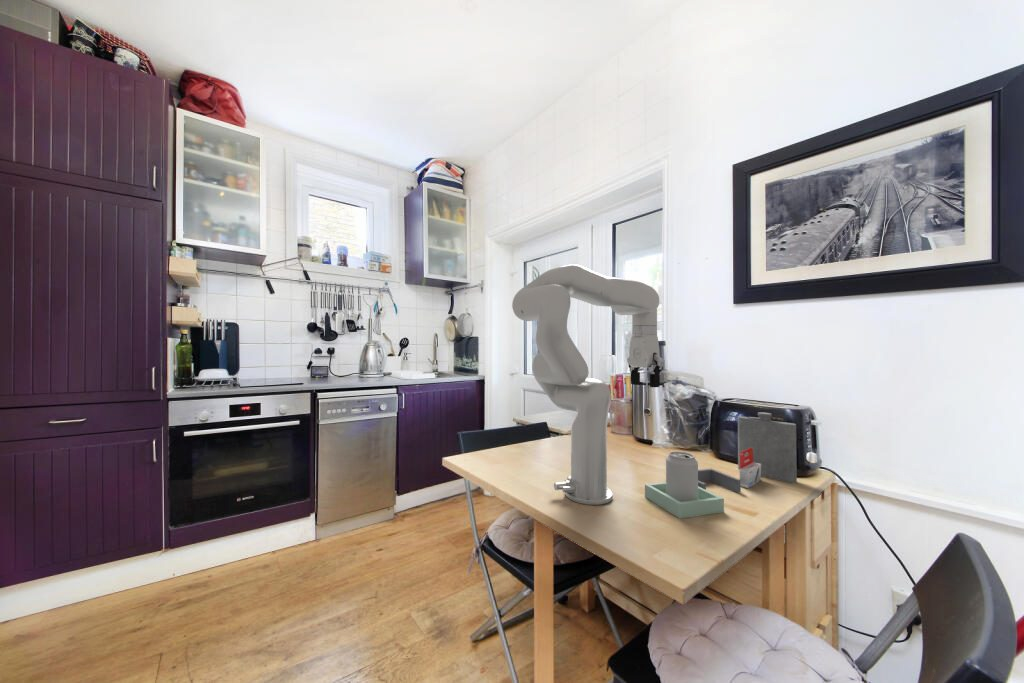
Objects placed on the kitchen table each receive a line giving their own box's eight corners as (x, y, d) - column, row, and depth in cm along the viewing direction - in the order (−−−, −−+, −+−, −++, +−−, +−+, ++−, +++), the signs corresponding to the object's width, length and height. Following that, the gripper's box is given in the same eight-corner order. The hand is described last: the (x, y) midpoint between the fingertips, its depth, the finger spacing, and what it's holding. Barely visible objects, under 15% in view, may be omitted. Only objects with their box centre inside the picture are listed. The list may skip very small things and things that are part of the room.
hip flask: (798, 481, 109) (797, 415, 110) (793, 484, 107) (793, 417, 107) (740, 467, 122) (740, 408, 123) (735, 469, 120) (735, 409, 120)
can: (703, 507, 88) (703, 458, 89) (673, 506, 88) (673, 458, 89) (689, 495, 96) (689, 450, 96) (661, 494, 96) (661, 449, 96)
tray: (680, 518, 84) (680, 504, 84) (644, 496, 97) (644, 484, 97) (723, 511, 88) (723, 498, 88) (684, 491, 100) (684, 479, 100)
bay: (703, 497, 96) (702, 484, 96) (676, 483, 106) (676, 472, 106) (740, 492, 100) (740, 479, 100) (711, 479, 110) (711, 468, 110)
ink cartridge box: (761, 480, 110) (761, 448, 110) (748, 488, 103) (748, 454, 103) (752, 478, 112) (751, 446, 112) (738, 486, 105) (738, 452, 105)
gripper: (619, 332, 122) (619, 383, 121) (652, 330, 105) (652, 388, 105) (638, 333, 124) (638, 382, 123) (673, 330, 107) (673, 388, 107)
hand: (644, 385), depth 114 cm, fingers open, 9 cm apart
